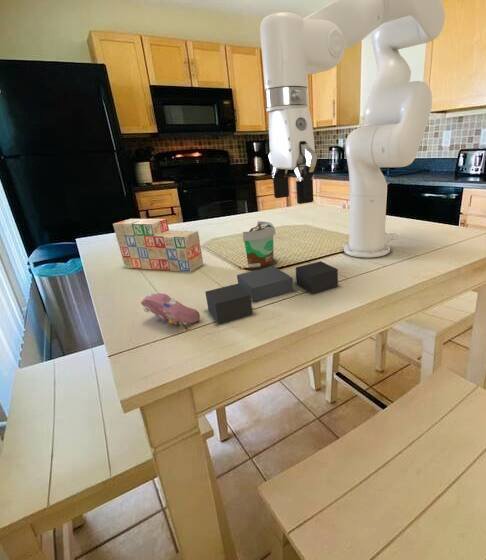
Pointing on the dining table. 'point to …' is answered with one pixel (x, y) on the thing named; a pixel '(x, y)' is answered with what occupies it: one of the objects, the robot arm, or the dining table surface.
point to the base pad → (265, 283)
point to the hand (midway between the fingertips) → (292, 199)
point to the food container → (259, 245)
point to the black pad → (229, 303)
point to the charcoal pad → (317, 277)
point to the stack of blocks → (157, 245)
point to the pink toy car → (169, 309)
